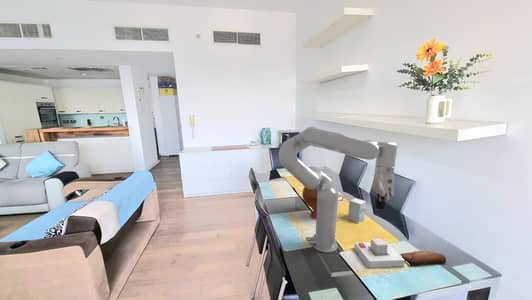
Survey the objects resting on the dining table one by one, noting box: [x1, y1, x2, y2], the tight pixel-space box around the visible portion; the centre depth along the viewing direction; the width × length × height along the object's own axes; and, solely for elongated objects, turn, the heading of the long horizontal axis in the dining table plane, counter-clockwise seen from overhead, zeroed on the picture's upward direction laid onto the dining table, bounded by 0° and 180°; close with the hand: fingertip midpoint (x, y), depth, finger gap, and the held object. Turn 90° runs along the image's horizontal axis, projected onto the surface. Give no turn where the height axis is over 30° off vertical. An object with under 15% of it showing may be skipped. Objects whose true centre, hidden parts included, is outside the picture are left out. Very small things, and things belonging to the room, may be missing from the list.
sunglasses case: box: [399, 250, 447, 267], centre depth 102 cm, size 18×7×7 cm
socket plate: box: [353, 241, 406, 269], centre depth 104 cm, size 16×14×4 cm
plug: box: [370, 237, 389, 256], centre depth 103 cm, size 5×5×8 cm
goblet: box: [302, 186, 318, 220], centre depth 141 cm, size 19×19×25 cm
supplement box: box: [347, 197, 367, 224], centre depth 139 cm, size 7×7×13 cm
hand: (379, 208), depth 102 cm, fingers closed
